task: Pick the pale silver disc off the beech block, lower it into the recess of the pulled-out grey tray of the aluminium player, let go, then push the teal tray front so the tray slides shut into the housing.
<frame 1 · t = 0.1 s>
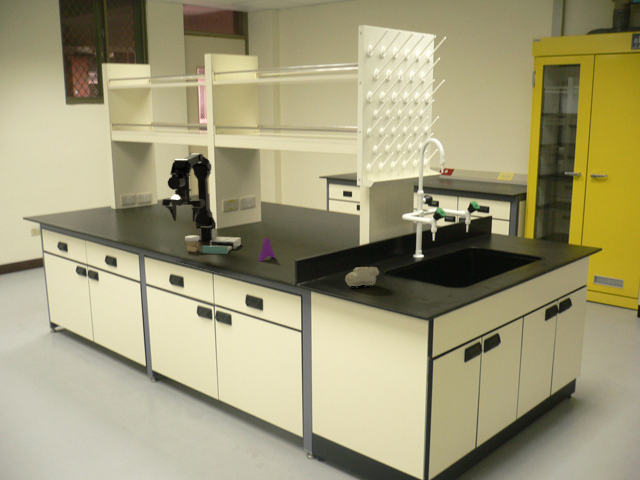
hand: (184, 221, 274), 14 cm above the countertop, fingers open, 9 cm apart
housing: (225, 246, 290), on the countertop
tray: (218, 247, 280), point 2 cm above the countertop, slide at 9.5 cm
arrowhead: (267, 260, 265), on the countertop
beech block: (192, 250, 281), on the countertop
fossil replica: (361, 287, 224), on the countertop
disc: (192, 240, 280), point 5 cm above the countertop, touching beech block
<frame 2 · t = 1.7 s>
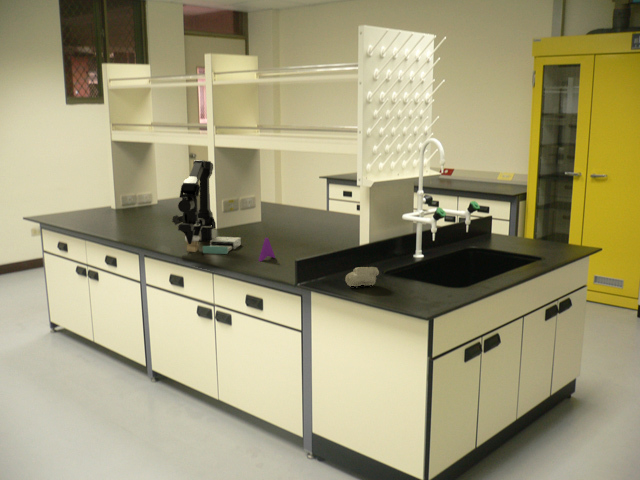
hand: (192, 242, 280), 4 cm above the countertop, fingers closed on disc, 6 cm apart
disc: (192, 240, 280), point 5 cm above the countertop, touching beech block, gripper
everything else where it was.
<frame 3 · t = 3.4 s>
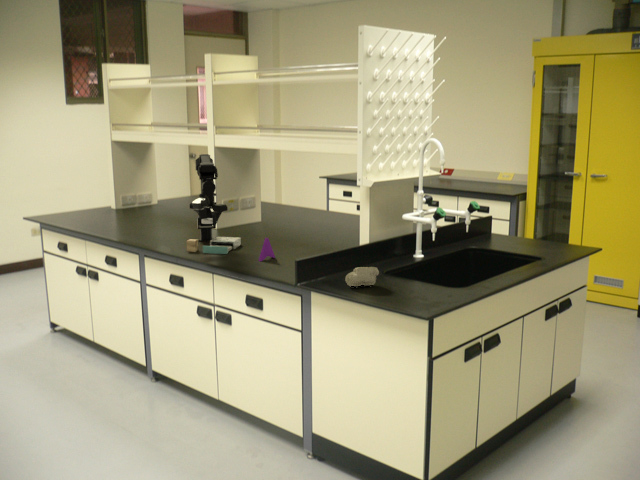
hand: (208, 225, 278), 12 cm above the countertop, fingers closed on disc, 6 cm apart
disc: (208, 222, 278), point 13 cm above the countertop, touching gripper
everything else where it was.
when the fingers open (2 cm above the countertop, at t = 5.3 s): disc drops 2 cm, resting on tray.
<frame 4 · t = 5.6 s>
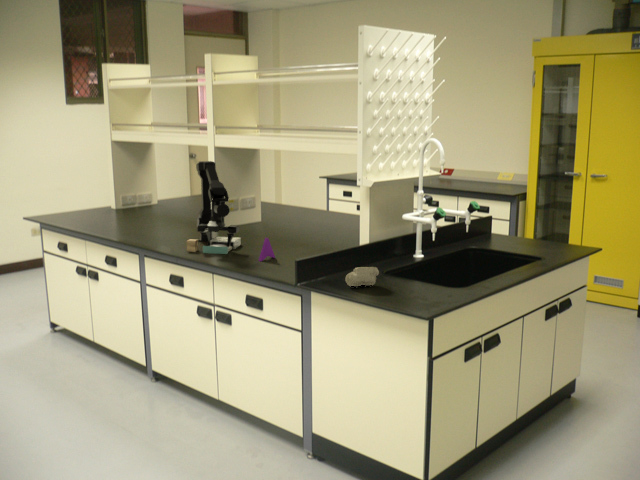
hand: (218, 246, 280), 2 cm above the countertop, fingers open, 9 cm apart
tray: (218, 247, 280), point 2 cm above the countertop, slide at 9.5 cm, touching disc
disc: (218, 249, 280), point 1 cm above the countertop, touching tray
everything else where it was.
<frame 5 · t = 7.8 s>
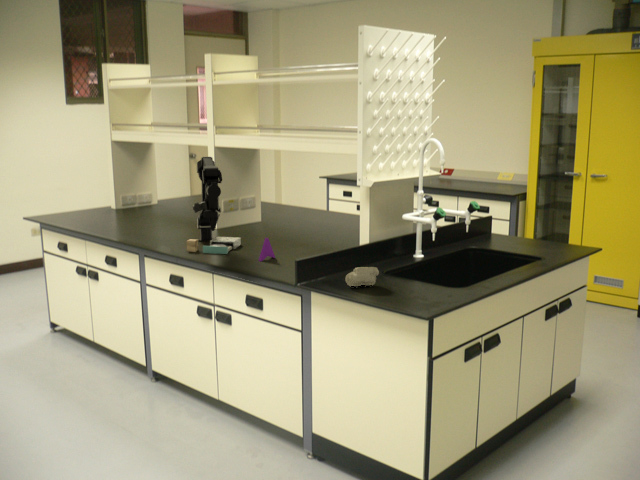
hand: (213, 230, 270), 11 cm above the countertop, fingers closed
nothing on the countertop moved.
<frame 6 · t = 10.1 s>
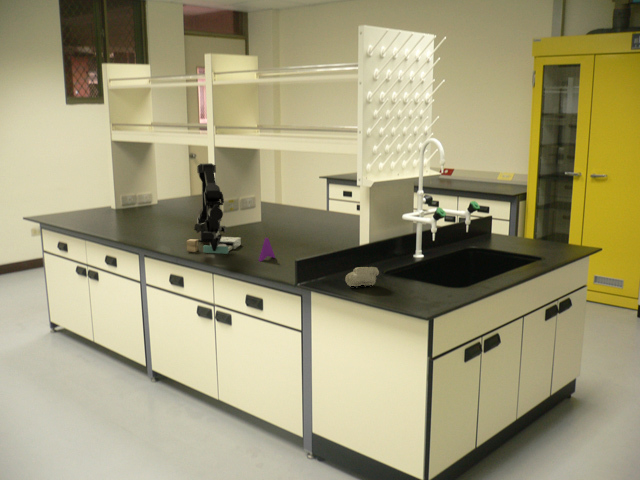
hand: (214, 250, 275), 1 cm above the countertop, fingers closed
tray: (219, 247, 281), point 2 cm above the countertop, slide at 8.7 cm, touching disc, gripper
everything else where it was.
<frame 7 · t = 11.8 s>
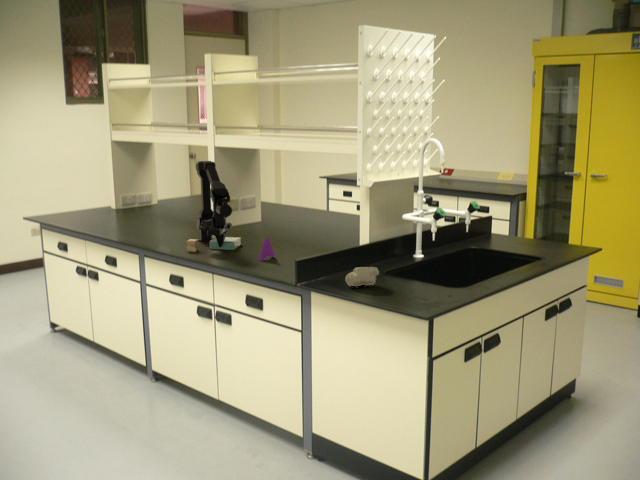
hand: (220, 246, 282), 1 cm above the countertop, fingers closed
tray: (224, 243, 288), point 2 cm above the countertop, slide at 0.6 cm, touching disc, gripper
disc: (224, 245, 289), point 1 cm above the countertop, touching tray
everything else where it was.
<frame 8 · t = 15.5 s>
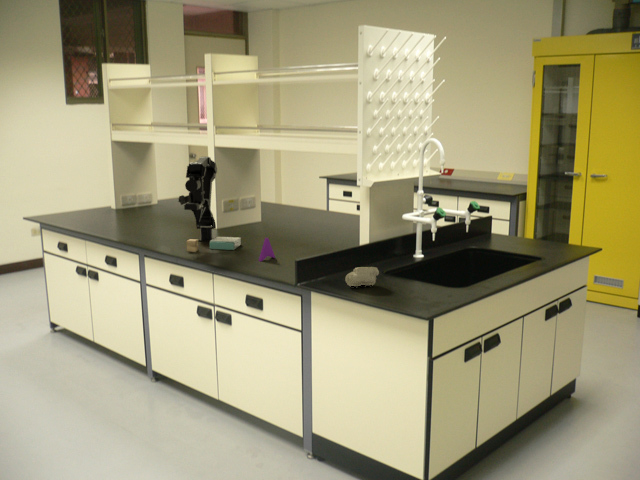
hand: (198, 222, 286), 12 cm above the countertop, fingers closed
tray: (224, 243, 289), point 2 cm above the countertop, slide at 0.4 cm, touching disc
everything else where it was.
at the end: tray slide at 0.4 cm; disc inside the target area on the housing (0.2 cm from its centre), point 0.8 cm above the housing's base; the gripper is holding nothing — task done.
